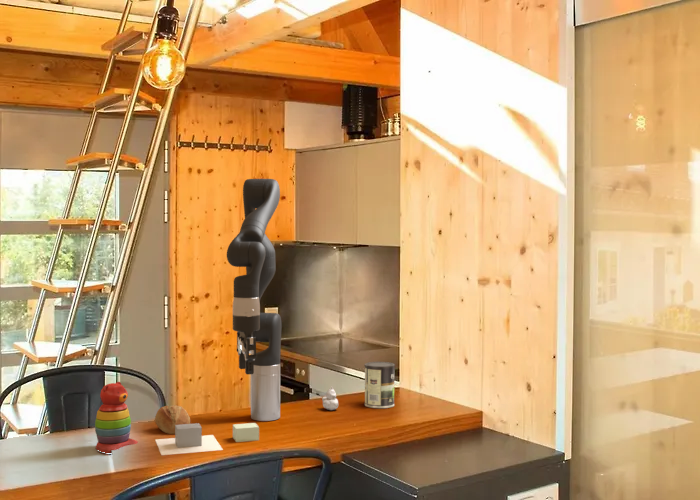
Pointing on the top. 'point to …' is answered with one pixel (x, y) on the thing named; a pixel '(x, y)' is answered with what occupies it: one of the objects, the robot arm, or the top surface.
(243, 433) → the sage brick
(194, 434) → the slate brick
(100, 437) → the stacking bear
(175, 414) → the bread roll
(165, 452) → the baseplate
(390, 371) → the coffee can
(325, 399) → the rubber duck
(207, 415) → the top surface
